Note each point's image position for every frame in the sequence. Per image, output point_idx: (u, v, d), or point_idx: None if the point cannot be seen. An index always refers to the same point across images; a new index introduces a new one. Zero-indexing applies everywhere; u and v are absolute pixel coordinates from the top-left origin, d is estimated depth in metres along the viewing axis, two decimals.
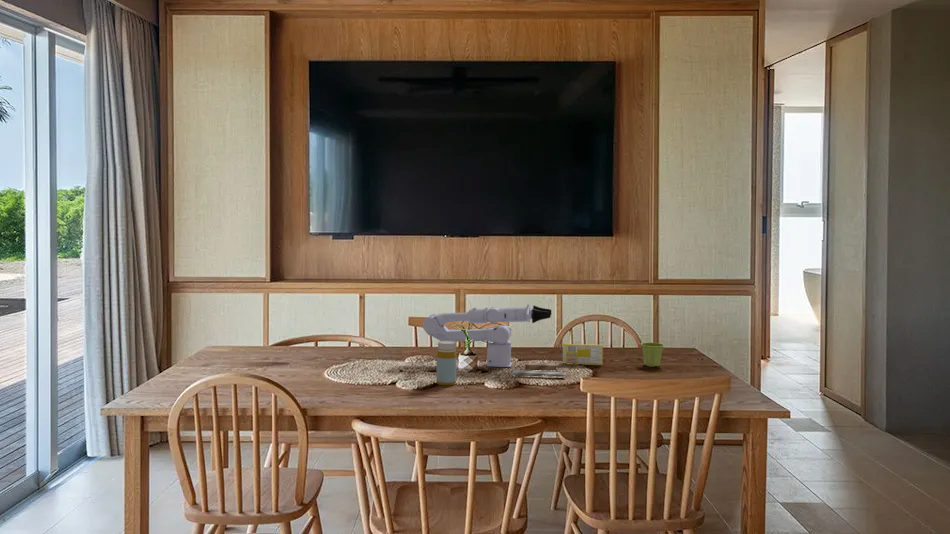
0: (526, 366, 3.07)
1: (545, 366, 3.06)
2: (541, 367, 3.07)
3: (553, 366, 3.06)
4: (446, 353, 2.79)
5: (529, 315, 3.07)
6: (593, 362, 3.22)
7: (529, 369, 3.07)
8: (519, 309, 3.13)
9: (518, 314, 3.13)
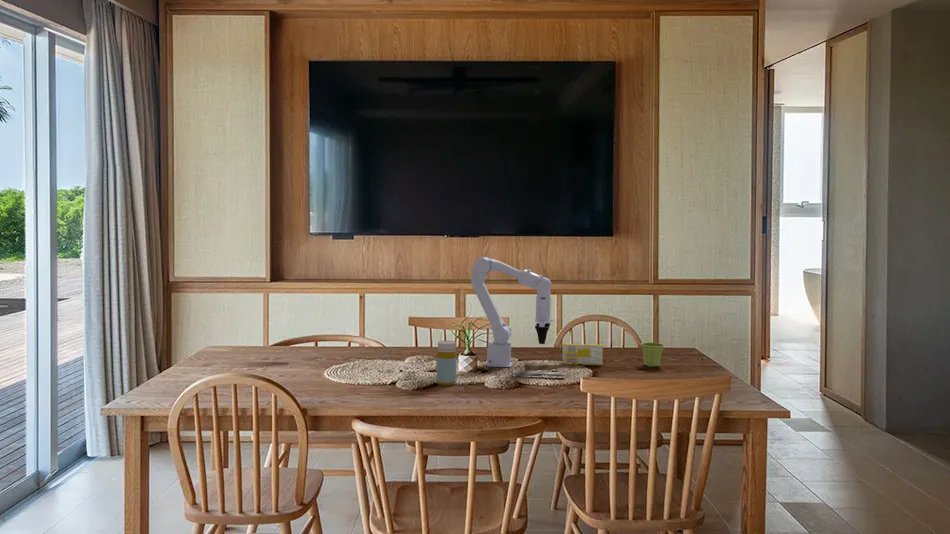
0: (528, 367, 3.05)
1: (546, 366, 3.07)
2: (543, 367, 3.07)
3: (554, 365, 3.08)
4: (446, 353, 2.79)
5: (543, 325, 3.07)
6: (593, 362, 3.22)
7: (531, 369, 3.06)
8: (548, 312, 3.12)
9: (544, 311, 3.11)
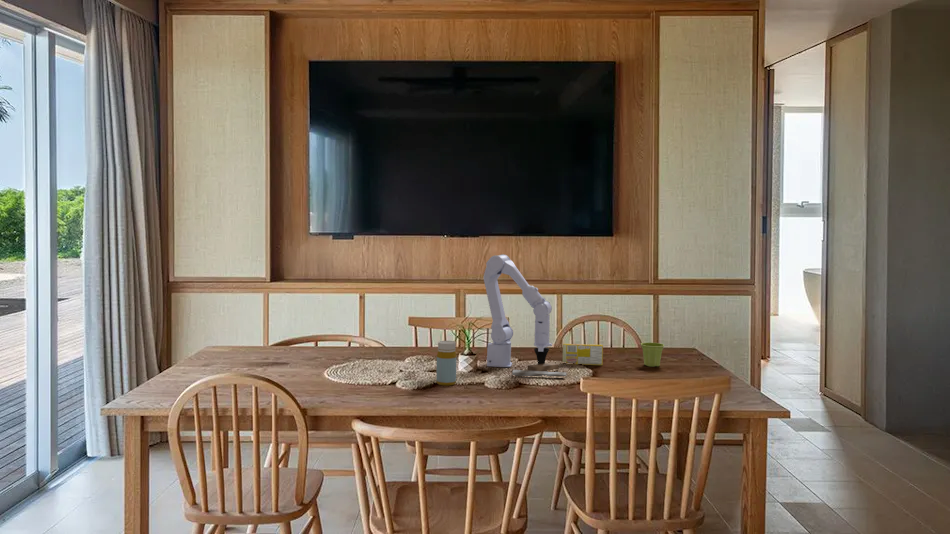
0: (534, 368, 3.02)
1: (549, 366, 3.07)
2: (546, 368, 3.06)
3: (555, 365, 3.08)
4: (446, 353, 2.79)
5: (542, 350, 3.04)
6: (593, 362, 3.22)
7: None
8: (547, 336, 3.09)
9: (543, 336, 3.08)
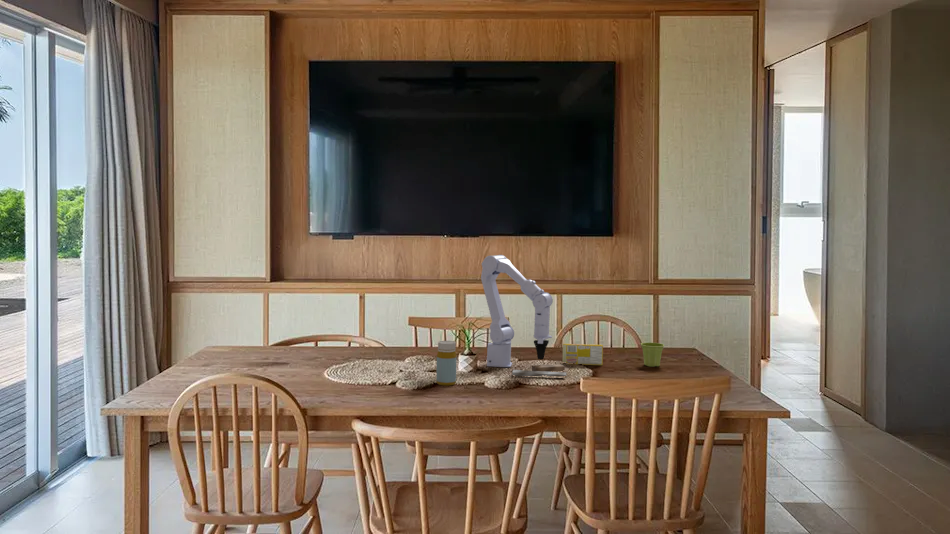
0: (537, 369, 3.02)
1: (554, 367, 3.04)
2: (550, 369, 3.04)
3: (561, 367, 3.05)
4: (446, 353, 2.79)
5: (541, 342, 3.01)
6: (593, 362, 3.22)
7: None
8: (547, 328, 3.05)
9: (542, 328, 3.05)
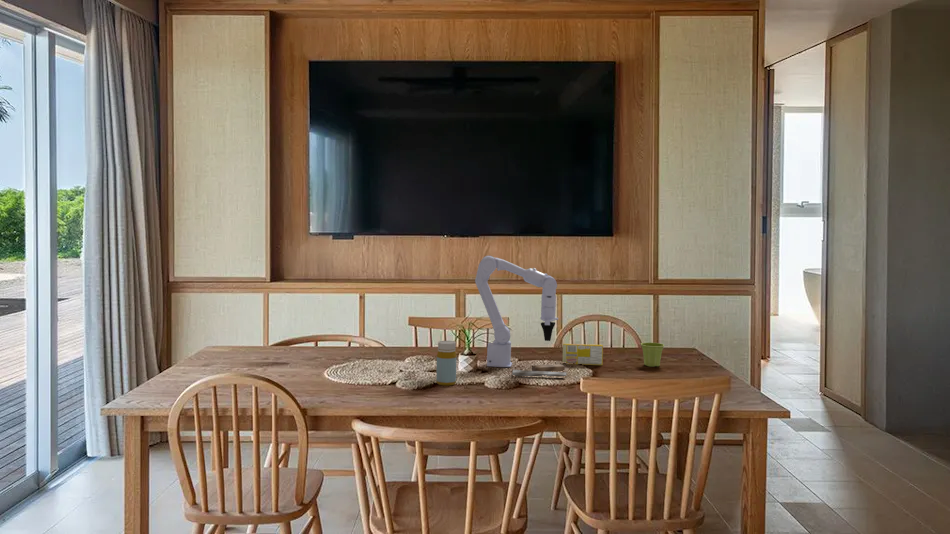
0: (537, 369, 3.02)
1: (554, 367, 3.04)
2: (550, 369, 3.04)
3: (561, 367, 3.05)
4: (446, 353, 2.79)
5: (548, 323, 3.09)
6: (593, 362, 3.22)
7: None
8: (553, 310, 3.14)
9: (549, 310, 3.13)
